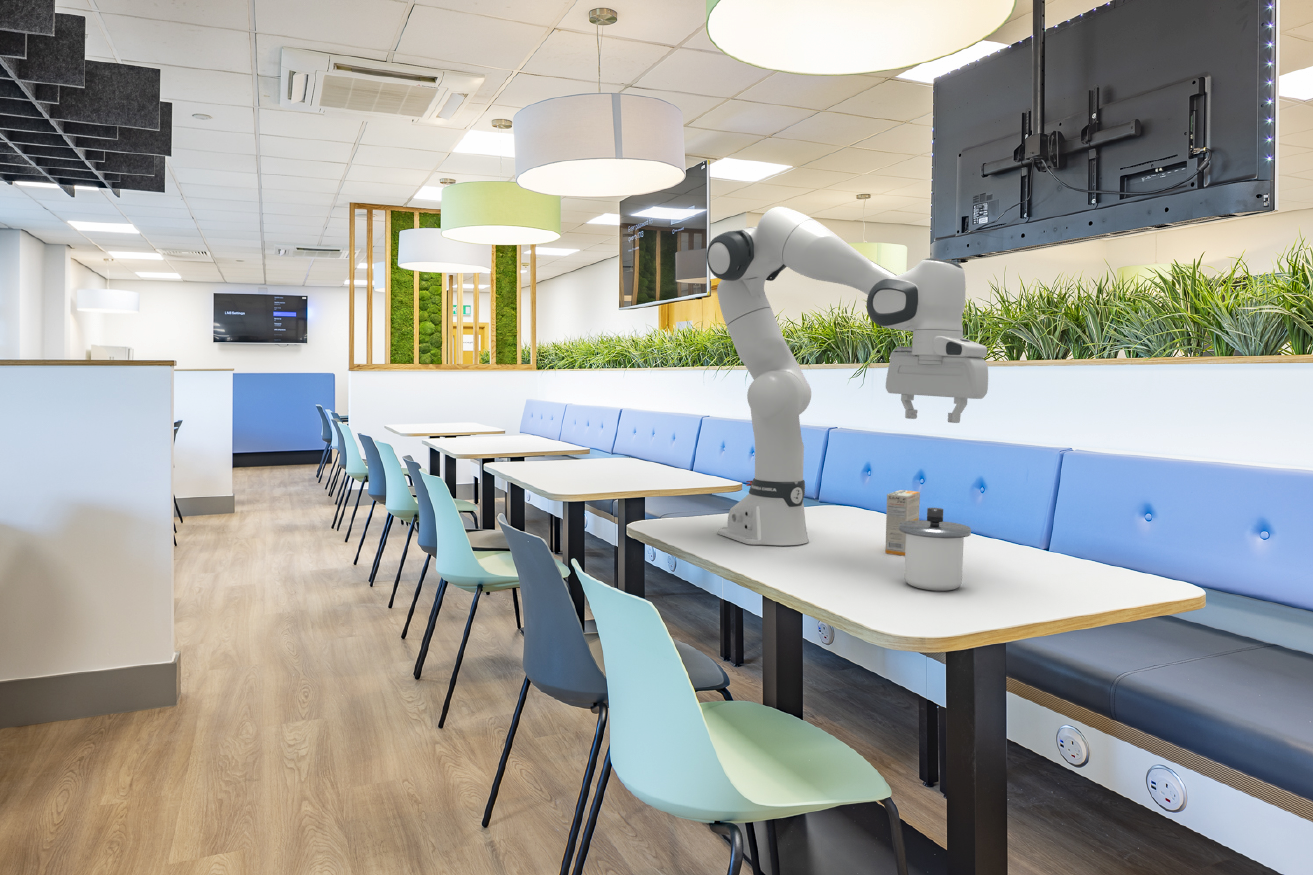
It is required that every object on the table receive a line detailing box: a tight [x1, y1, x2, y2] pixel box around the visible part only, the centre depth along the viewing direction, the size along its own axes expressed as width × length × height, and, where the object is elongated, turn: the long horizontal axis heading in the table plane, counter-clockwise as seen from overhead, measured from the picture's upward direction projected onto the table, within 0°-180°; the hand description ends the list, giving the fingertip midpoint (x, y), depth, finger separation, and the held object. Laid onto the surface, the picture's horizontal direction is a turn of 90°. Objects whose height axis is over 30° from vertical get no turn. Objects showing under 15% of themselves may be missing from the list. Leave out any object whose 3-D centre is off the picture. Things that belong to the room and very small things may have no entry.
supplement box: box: [885, 489, 921, 557], centre depth 183 cm, size 8×5×13 cm, turn 144°
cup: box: [904, 534, 965, 592], centre depth 153 cm, size 10×10×10 cm
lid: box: [899, 507, 972, 538], centre depth 153 cm, size 12×12×4 cm
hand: (931, 420), depth 158 cm, fingers open, 8 cm apart
